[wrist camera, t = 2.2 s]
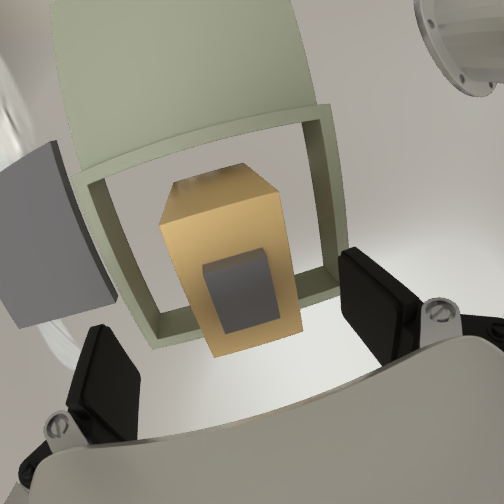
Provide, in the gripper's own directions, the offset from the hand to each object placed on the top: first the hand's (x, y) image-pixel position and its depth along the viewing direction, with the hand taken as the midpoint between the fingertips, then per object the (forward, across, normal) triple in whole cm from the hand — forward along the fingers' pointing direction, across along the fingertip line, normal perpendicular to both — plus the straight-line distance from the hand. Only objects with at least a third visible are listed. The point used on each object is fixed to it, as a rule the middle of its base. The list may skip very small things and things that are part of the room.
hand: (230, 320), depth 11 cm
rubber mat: (+10, +14, -4) cm, 17 cm away
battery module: (+9, -1, 0) cm, 9 cm away
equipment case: (+9, -1, -6) cm, 11 cm away
